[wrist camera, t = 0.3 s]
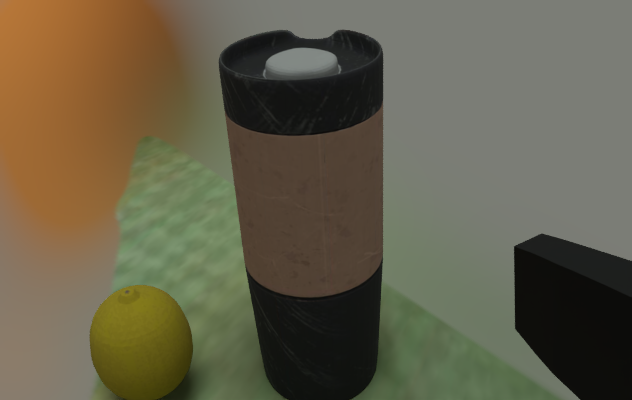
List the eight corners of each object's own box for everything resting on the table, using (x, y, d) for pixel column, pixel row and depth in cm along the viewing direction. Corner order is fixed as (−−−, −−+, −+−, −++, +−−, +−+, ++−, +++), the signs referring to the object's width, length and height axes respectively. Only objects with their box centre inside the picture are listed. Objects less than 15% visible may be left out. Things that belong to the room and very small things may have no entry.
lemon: (94, 389, 36) (57, 289, 32) (175, 344, 39) (151, 247, 35) (133, 448, 33) (98, 345, 28) (219, 394, 35) (198, 292, 31)
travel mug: (306, 434, 33) (275, 97, 22) (237, 353, 38) (186, 50, 27) (407, 367, 36) (422, 50, 26) (331, 302, 42) (318, 17, 31)
